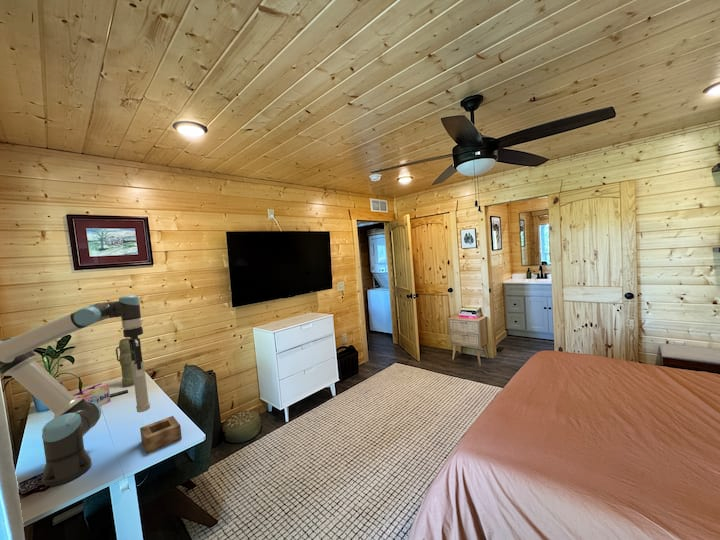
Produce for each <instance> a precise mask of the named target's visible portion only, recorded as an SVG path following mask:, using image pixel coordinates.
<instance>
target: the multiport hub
mask: <svg viewBox="0 0 720 540" xmlns="http://www.w3.org/2000/svg"><path fill="white" fill-rule="evenodd" d="M125 394H129V390H128V389H125V390H121V391H117V392H113V393H110V399H111V398H115V397H119V396H122V395H125Z"/></svg>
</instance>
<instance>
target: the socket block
mask: <svg viewBox="0 0 720 540" xmlns="http://www.w3.org/2000/svg"><path fill="white" fill-rule="evenodd" d="M181 427H182V426H181V424H180V423H179V422H178V420H177V419H176V417H174V415H171V416H168V417H166V418H163V419H160V420H157V421H154V422H152V423H150V424H146V425H145V426H141V427H139V430H140V438H141V439H140V440H141V444H142V445H143V448H144V450H145V451H146V454H150V453H153V452H154V451H157V450H160V449H161V448H165V447H166V446H168V445H171V444H173V443H176V442H177V441H180V440H182V437H183V436H182V428H181Z"/></svg>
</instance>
